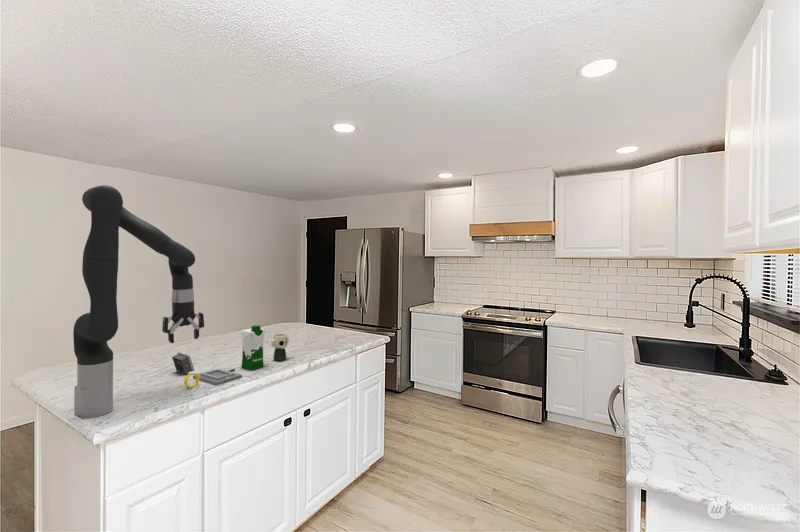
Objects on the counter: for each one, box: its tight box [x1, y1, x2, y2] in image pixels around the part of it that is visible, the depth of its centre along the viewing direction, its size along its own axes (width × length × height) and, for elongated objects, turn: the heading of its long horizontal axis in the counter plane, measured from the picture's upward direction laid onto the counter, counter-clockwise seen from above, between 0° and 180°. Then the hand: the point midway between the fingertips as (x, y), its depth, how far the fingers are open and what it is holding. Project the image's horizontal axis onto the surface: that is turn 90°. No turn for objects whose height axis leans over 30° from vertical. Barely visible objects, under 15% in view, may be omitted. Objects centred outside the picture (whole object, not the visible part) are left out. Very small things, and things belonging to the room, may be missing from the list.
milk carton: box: [240, 324, 266, 371], centre depth 175 cm, size 9×9×20 cm
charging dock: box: [192, 368, 243, 386], centre depth 162 cm, size 17×16×2 cm
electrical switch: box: [171, 351, 196, 376], centre depth 164 cm, size 9×5×9 cm, turn 57°
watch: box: [183, 370, 200, 389], centre depth 148 cm, size 6×3×6 cm, turn 160°
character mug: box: [270, 332, 290, 361], centre depth 188 cm, size 11×7×13 cm, turn 149°
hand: (184, 340), depth 146 cm, fingers open, 8 cm apart
